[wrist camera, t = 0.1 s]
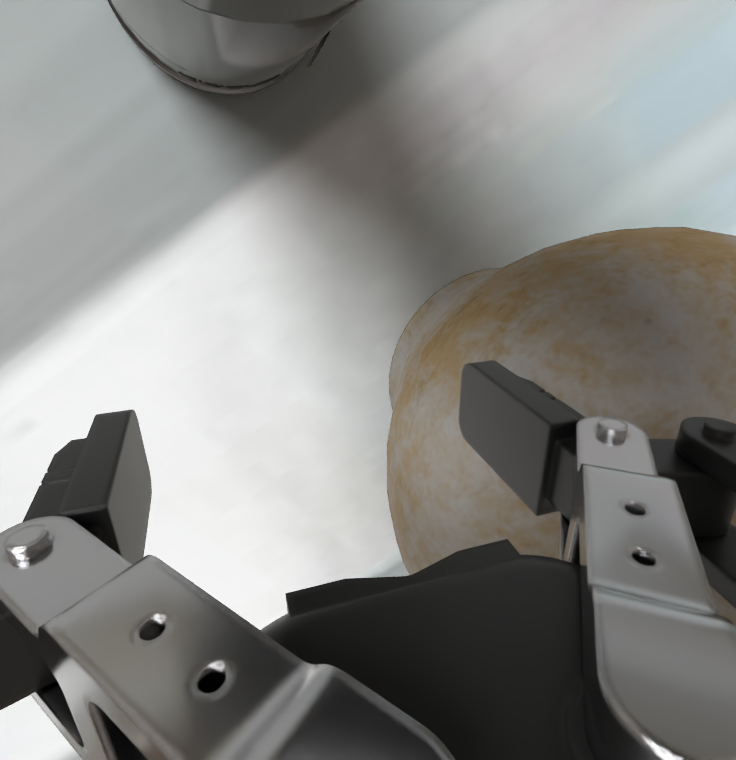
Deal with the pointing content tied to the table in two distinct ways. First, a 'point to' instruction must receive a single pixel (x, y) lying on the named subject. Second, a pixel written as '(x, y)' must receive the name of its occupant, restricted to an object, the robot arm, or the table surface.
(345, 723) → the robot arm
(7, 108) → the table surface
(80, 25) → the table surface
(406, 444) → the vase
